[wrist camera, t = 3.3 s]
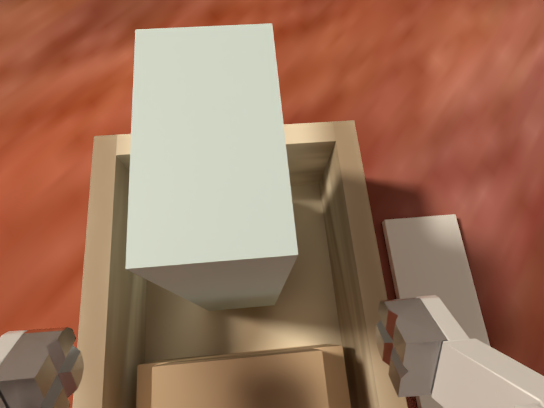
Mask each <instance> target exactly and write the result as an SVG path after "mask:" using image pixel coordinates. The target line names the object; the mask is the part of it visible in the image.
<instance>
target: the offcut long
mask: <svg viewBox="0 0 544 408" xmlns="http://www.w3.org/2000/svg"><path fill="white" fill-rule="evenodd" d="M309 348H314V349H318V350H322V355H323V363H324V371H325V379H326V387H327V395H328V403H329V408H351V403H350V396H349V389H348V382H347V375H346V368H345V361H344V354H343V347H342V345H335V344H321V345H311V346H301V347H290V348H280V349H269V350H259V351H249V352H238V353H228V354H217V355H207V356H197V357H186V358H176V359H165V360H157V361H153V362H149V363H144V364H140V365H137V396H136V408H151V400H152V367H153V366H157V365H160V364H164V363H167V362H175V361H185V360H195V359H206V358H216V357H227V356H237V355H247V354H258V353H268V352H278V351H289V350H299V349H309Z"/></svg>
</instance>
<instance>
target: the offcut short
mask: <svg viewBox="0 0 544 408" xmlns="http://www.w3.org/2000/svg"><path fill="white" fill-rule="evenodd" d="M151 408H329V403H328V395H327V387H326V379H325V371H324V363H323V355H322V350H318V349H314V348H309V349H299V350H289V351H278V352H268V353H258V354H247V355H237V356H227V357H216V358H206V359H195V360H185V361H175V362H167V363H164V364H160V365H157V366H153V367H152V400H151Z"/></svg>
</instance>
